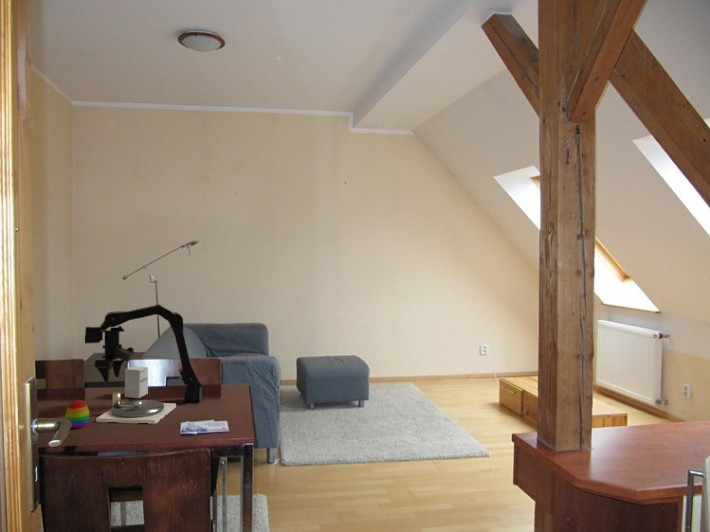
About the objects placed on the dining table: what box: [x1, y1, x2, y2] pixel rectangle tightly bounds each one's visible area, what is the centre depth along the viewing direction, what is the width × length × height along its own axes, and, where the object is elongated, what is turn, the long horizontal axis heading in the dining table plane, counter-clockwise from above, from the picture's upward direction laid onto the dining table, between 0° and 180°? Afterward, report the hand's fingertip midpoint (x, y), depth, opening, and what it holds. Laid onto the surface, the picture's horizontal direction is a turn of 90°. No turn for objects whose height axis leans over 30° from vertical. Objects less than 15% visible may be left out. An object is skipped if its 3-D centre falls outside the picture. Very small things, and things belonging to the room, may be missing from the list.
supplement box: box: [124, 365, 149, 399], centre depth 263 cm, size 7×7×13 cm
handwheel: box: [110, 392, 164, 417], centre depth 235 cm, size 20×20×6 cm
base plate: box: [95, 401, 177, 425], centre depth 236 cm, size 23×23×2 cm
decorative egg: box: [64, 399, 90, 429], centre depth 219 cm, size 8×8×10 cm
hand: (111, 379), depth 243 cm, fingers open, 9 cm apart
